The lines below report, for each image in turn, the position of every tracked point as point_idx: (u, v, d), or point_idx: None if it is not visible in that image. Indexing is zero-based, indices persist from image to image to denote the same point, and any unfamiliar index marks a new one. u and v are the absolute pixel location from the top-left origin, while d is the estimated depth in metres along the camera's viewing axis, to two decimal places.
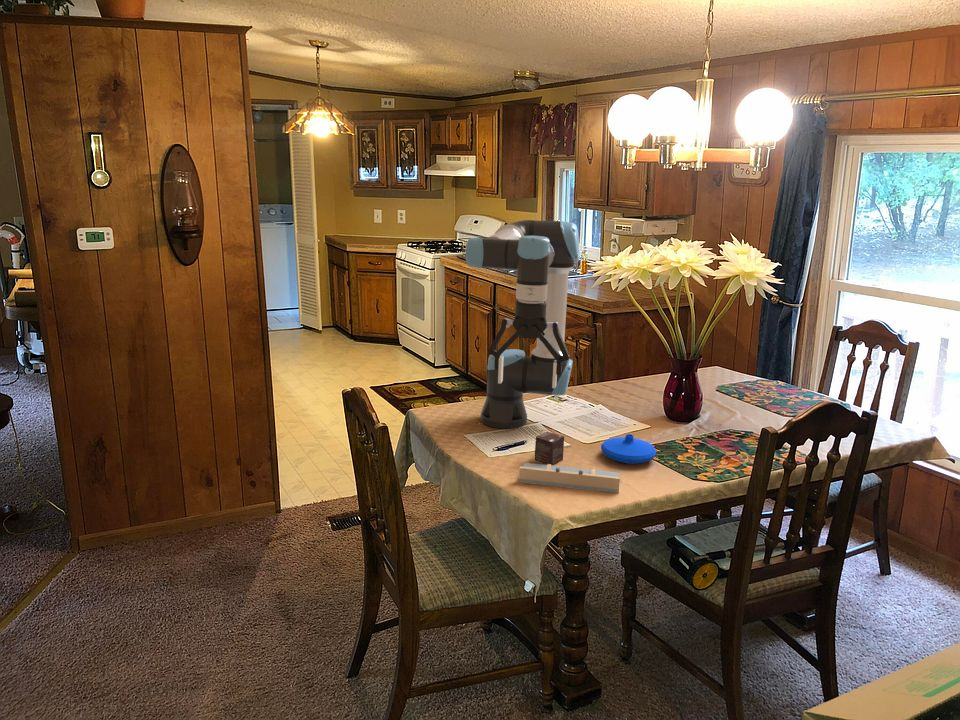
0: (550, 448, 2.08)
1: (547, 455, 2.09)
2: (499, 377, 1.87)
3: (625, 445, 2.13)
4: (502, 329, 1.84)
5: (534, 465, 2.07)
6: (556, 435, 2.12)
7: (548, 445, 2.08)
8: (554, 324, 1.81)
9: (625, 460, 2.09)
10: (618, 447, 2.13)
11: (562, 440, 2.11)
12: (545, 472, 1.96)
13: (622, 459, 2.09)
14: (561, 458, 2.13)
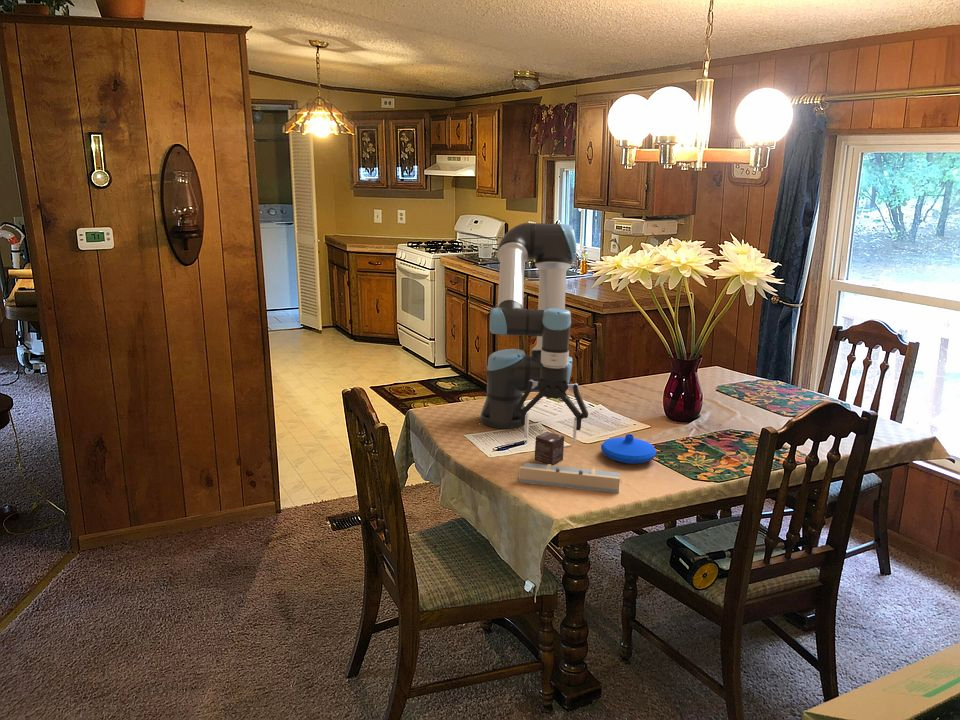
0: (550, 448, 2.08)
1: (547, 455, 2.09)
2: (525, 432, 2.10)
3: (625, 445, 2.13)
4: (528, 389, 2.08)
5: (534, 465, 2.07)
6: (556, 435, 2.12)
7: (548, 445, 2.08)
8: (575, 386, 2.05)
9: (625, 460, 2.09)
10: (618, 447, 2.13)
11: (562, 440, 2.11)
12: (545, 472, 1.96)
13: (622, 459, 2.09)
14: (561, 458, 2.13)
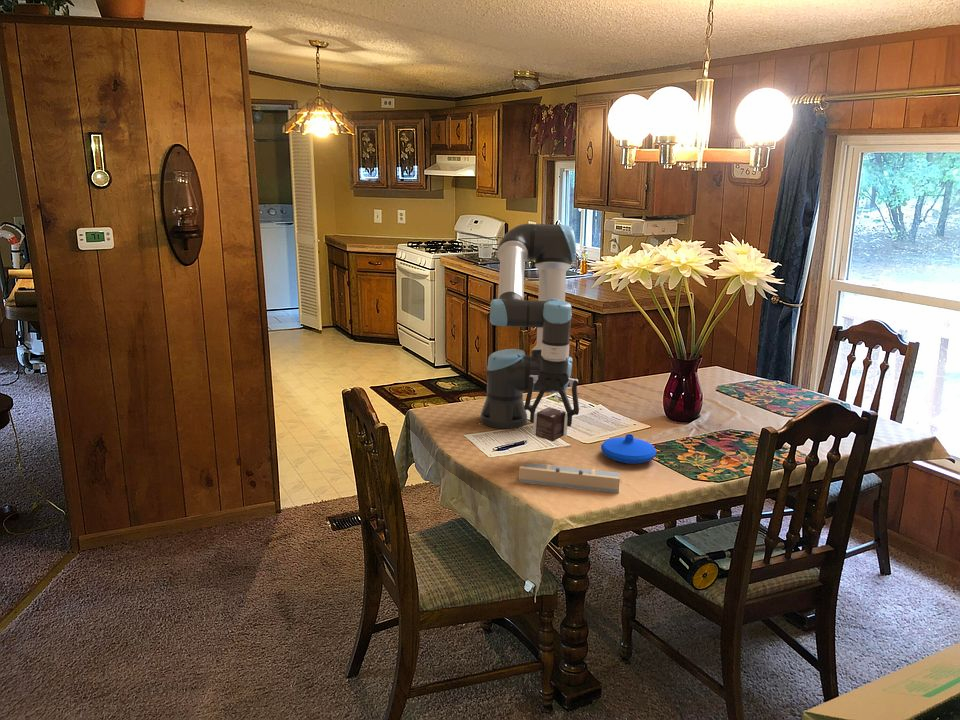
0: (551, 423, 2.07)
1: (548, 431, 2.08)
2: (534, 429, 2.11)
3: (625, 445, 2.13)
4: (531, 385, 2.08)
5: (534, 465, 2.07)
6: (557, 411, 2.11)
7: (550, 421, 2.07)
8: (575, 382, 2.05)
9: (625, 460, 2.09)
10: (618, 447, 2.13)
11: (563, 416, 2.10)
12: (545, 472, 1.96)
13: (622, 459, 2.09)
14: (562, 434, 2.11)
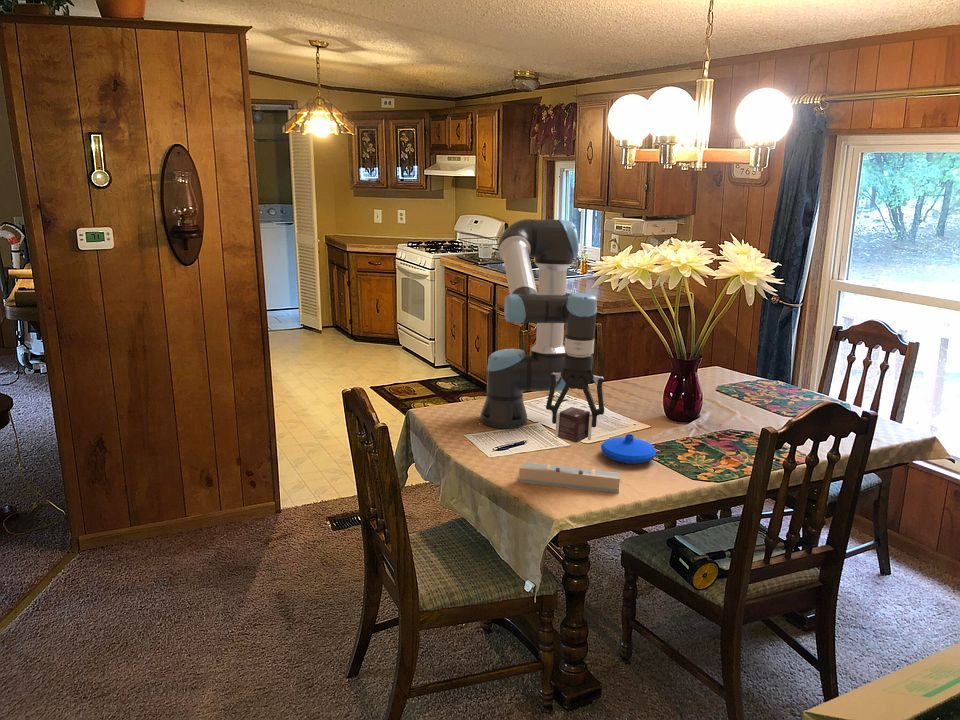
0: (575, 423, 1.95)
1: (572, 432, 1.96)
2: (556, 431, 1.99)
3: (625, 445, 2.13)
4: (553, 383, 1.96)
5: (534, 465, 2.07)
6: (581, 410, 1.99)
7: (574, 420, 1.95)
8: (600, 379, 1.93)
9: (625, 460, 2.09)
10: (618, 447, 2.13)
11: (588, 416, 1.98)
12: (545, 472, 1.96)
13: (622, 459, 2.09)
14: (586, 435, 1.99)
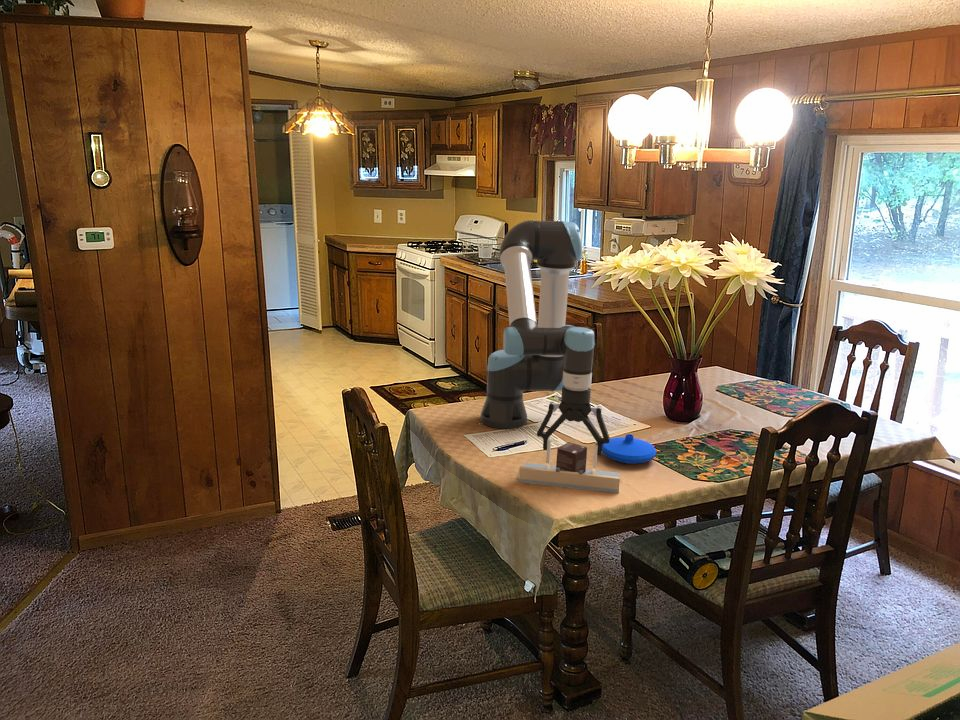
0: (573, 460, 1.98)
1: (569, 468, 1.99)
2: (547, 457, 2.01)
3: (625, 445, 2.13)
4: (550, 413, 1.98)
5: (534, 465, 2.07)
6: (578, 446, 2.02)
7: (571, 457, 1.98)
8: (598, 410, 1.95)
9: (625, 460, 2.09)
10: (618, 447, 2.13)
11: (585, 451, 2.01)
12: (545, 472, 1.96)
13: (622, 459, 2.09)
14: (584, 470, 2.02)
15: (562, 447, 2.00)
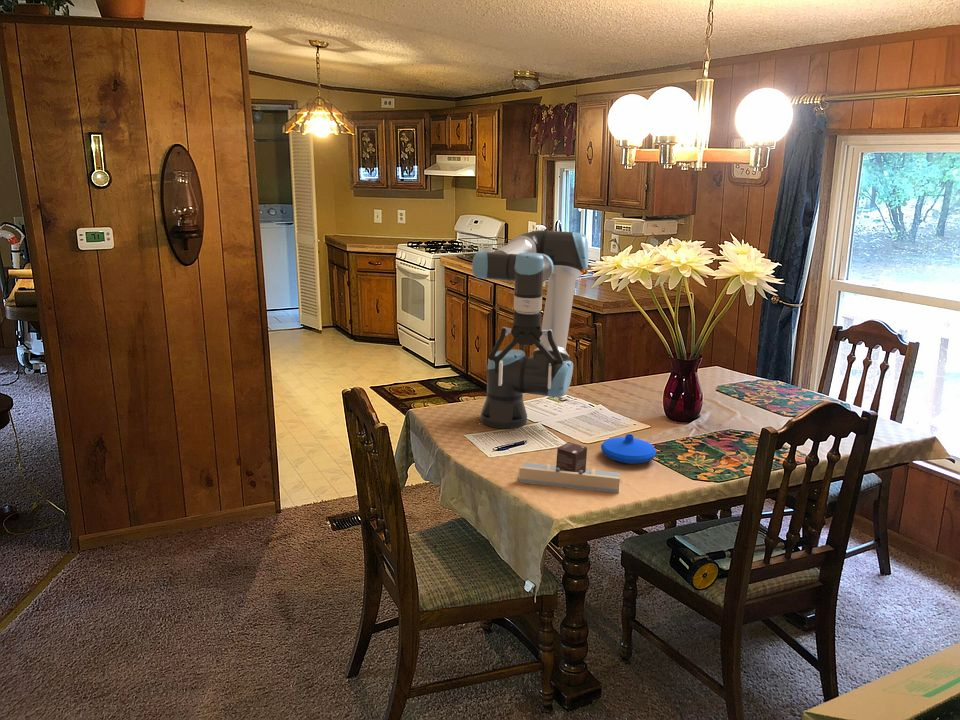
0: (573, 460, 1.98)
1: (569, 468, 1.99)
2: (499, 380, 2.07)
3: (625, 445, 2.13)
4: (502, 337, 2.03)
5: (534, 465, 2.07)
6: (578, 446, 2.02)
7: (571, 457, 1.98)
8: (549, 332, 2.01)
9: (625, 460, 2.09)
10: (618, 447, 2.13)
11: (585, 451, 2.01)
12: (545, 472, 1.96)
13: (622, 459, 2.09)
14: (584, 470, 2.02)
15: (562, 447, 2.00)
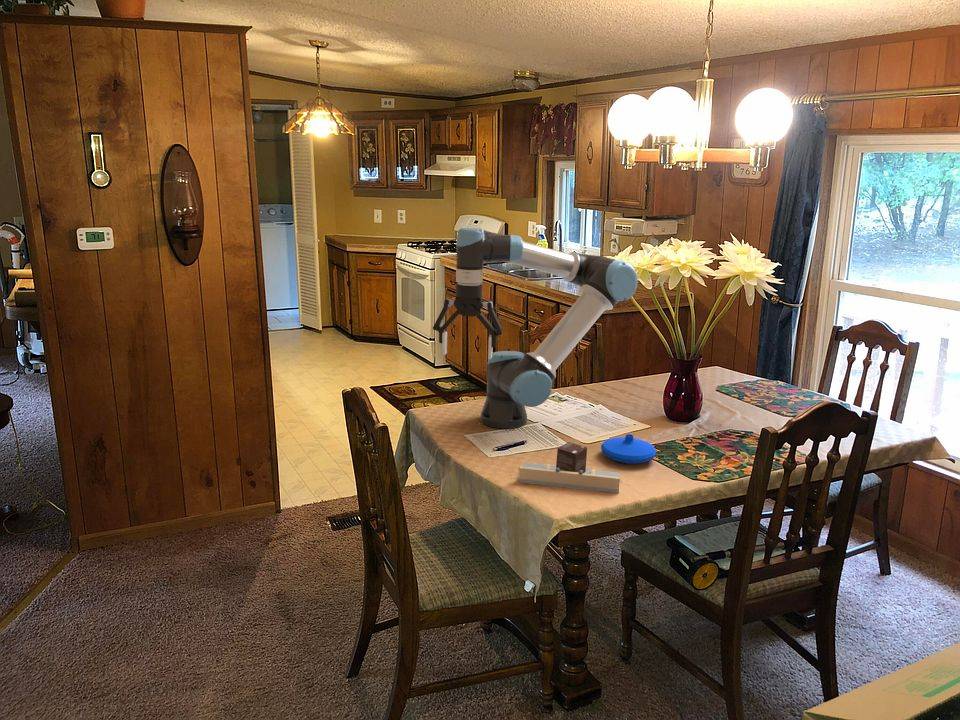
0: (573, 460, 1.98)
1: (569, 468, 1.99)
2: (443, 350, 2.17)
3: (625, 445, 2.13)
4: (445, 308, 2.14)
5: (534, 465, 2.07)
6: (578, 446, 2.02)
7: (571, 457, 1.98)
8: (488, 303, 2.11)
9: (625, 460, 2.09)
10: (618, 447, 2.13)
11: (585, 451, 2.01)
12: (545, 472, 1.96)
13: (622, 459, 2.09)
14: (584, 470, 2.02)
15: (562, 447, 2.00)
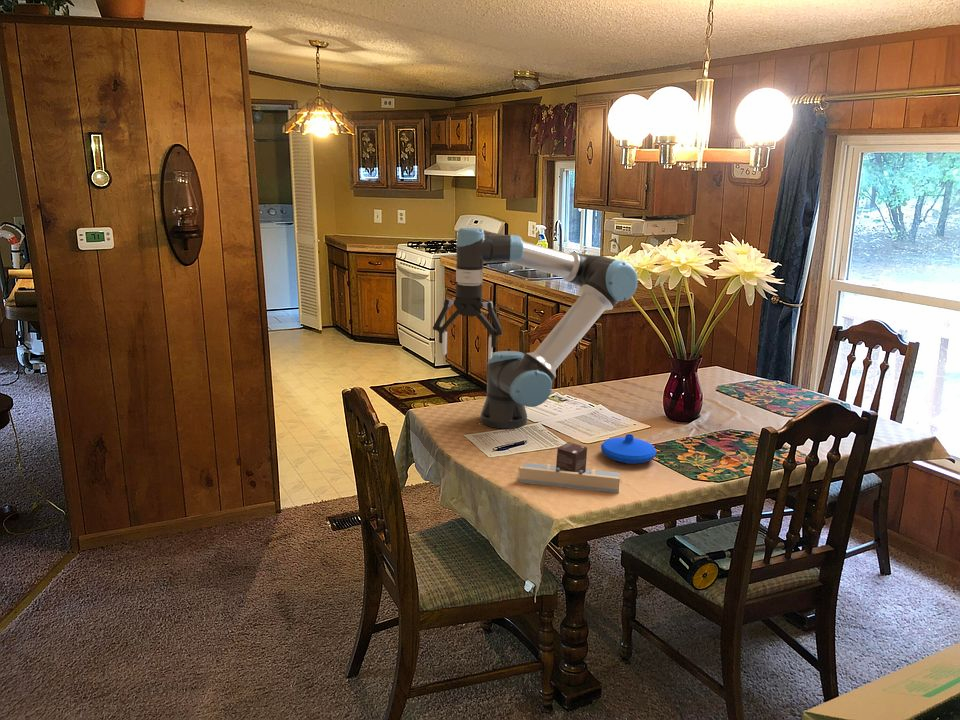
0: (573, 460, 1.98)
1: (569, 468, 1.99)
2: (443, 350, 2.17)
3: (625, 445, 2.13)
4: (445, 308, 2.14)
5: (534, 465, 2.07)
6: (578, 446, 2.02)
7: (571, 457, 1.98)
8: (488, 303, 2.11)
9: (625, 460, 2.09)
10: (618, 447, 2.13)
11: (585, 451, 2.01)
12: (545, 472, 1.96)
13: (622, 459, 2.09)
14: (584, 470, 2.02)
15: (562, 447, 2.00)
